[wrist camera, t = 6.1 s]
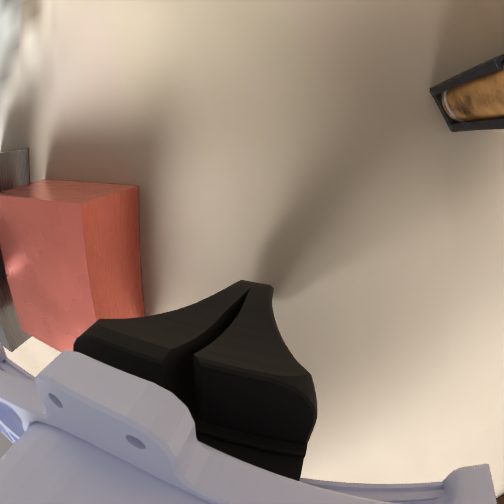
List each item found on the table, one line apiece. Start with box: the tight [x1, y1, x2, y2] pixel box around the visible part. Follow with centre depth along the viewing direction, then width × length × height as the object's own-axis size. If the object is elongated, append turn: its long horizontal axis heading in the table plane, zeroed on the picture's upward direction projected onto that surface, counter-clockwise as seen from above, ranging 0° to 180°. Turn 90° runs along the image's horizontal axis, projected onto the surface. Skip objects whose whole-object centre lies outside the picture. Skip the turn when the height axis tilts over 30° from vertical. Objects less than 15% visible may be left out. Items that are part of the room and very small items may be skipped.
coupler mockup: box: [0, 148, 31, 352], centre depth 13 cm, size 12×11×6 cm
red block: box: [0, 180, 145, 352], centre depth 13 cm, size 8×7×4 cm
